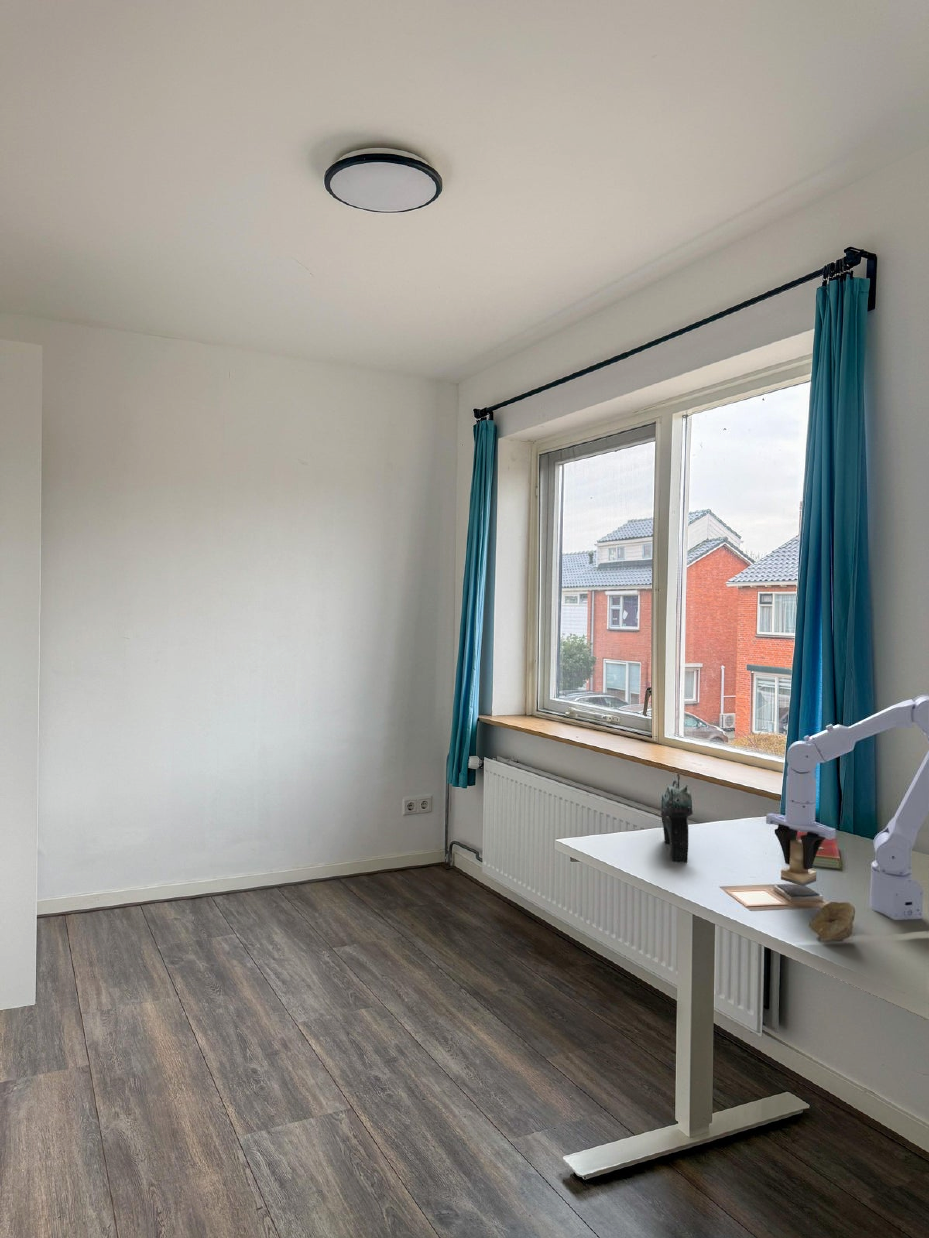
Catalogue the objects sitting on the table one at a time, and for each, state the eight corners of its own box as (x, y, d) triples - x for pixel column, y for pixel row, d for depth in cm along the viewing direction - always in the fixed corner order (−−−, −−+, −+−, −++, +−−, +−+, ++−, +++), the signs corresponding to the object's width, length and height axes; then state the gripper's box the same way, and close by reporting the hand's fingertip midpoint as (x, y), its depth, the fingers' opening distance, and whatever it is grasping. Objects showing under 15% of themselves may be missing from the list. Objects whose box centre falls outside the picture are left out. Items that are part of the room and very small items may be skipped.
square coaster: (788, 905, 172) (788, 904, 172) (745, 906, 170) (745, 905, 170) (765, 889, 181) (765, 888, 181) (725, 891, 179) (725, 890, 179)
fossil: (826, 895, 164) (861, 903, 154) (841, 912, 164) (877, 920, 154) (798, 931, 161) (832, 940, 152) (814, 948, 161) (849, 958, 152)
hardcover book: (836, 850, 215) (836, 833, 215) (840, 875, 195) (841, 857, 195) (784, 844, 219) (785, 828, 219) (784, 868, 200) (785, 850, 199)
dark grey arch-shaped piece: (693, 864, 200) (695, 779, 199) (664, 863, 201) (666, 778, 200) (681, 840, 220) (683, 762, 219) (655, 839, 220) (657, 761, 220)
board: (835, 911, 171) (835, 906, 171) (750, 915, 168) (750, 910, 168) (797, 887, 185) (797, 883, 185) (718, 891, 182) (718, 886, 182)
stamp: (816, 881, 177) (817, 842, 177) (803, 886, 174) (804, 846, 174) (793, 874, 181) (795, 836, 181) (780, 879, 178) (781, 840, 178)
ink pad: (823, 900, 175) (823, 894, 175) (791, 902, 174) (791, 896, 173) (804, 888, 182) (804, 883, 181) (773, 890, 180) (773, 884, 180)
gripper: (844, 804, 174) (842, 871, 174) (780, 790, 185) (778, 853, 186) (825, 809, 169) (823, 878, 170) (760, 795, 181) (759, 858, 181)
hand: (798, 865), depth 177 cm, fingers closed on stamp, 4 cm apart
